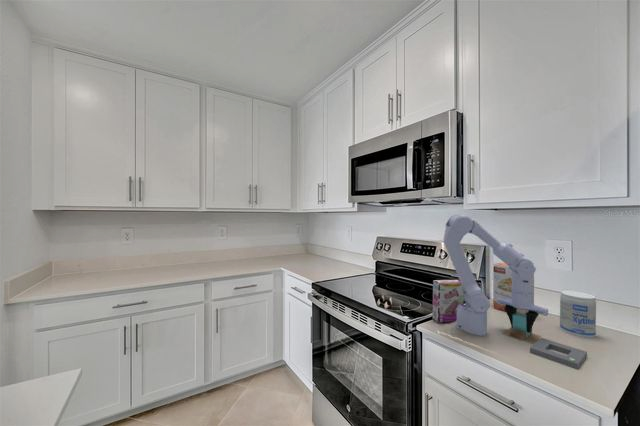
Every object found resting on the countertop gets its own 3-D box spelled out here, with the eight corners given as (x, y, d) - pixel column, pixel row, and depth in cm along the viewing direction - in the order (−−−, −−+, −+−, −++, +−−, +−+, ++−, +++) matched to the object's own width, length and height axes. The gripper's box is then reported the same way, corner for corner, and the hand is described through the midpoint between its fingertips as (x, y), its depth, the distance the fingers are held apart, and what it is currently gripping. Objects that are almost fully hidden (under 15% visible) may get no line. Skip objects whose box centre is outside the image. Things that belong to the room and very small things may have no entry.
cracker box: (492, 308, 124) (492, 263, 124) (500, 306, 127) (500, 262, 126) (526, 319, 111) (526, 269, 111) (534, 317, 114) (534, 268, 114)
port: (529, 355, 83) (529, 346, 83) (541, 345, 90) (541, 336, 90) (578, 372, 75) (578, 362, 75) (587, 359, 81) (587, 350, 81)
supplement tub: (576, 340, 93) (576, 298, 93) (552, 328, 103) (553, 290, 103) (604, 340, 93) (604, 298, 93) (578, 328, 103) (578, 290, 103)
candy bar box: (438, 324, 107) (438, 283, 107) (432, 319, 112) (432, 279, 112) (464, 322, 108) (464, 282, 108) (456, 317, 113) (457, 279, 113)
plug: (512, 334, 96) (512, 314, 96) (516, 331, 98) (516, 312, 98) (526, 338, 93) (526, 318, 93) (530, 335, 95) (530, 315, 95)
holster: (501, 336, 96) (501, 326, 96) (511, 329, 102) (511, 320, 102) (532, 346, 89) (532, 336, 89) (541, 338, 94) (541, 329, 94)
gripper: (551, 294, 92) (550, 333, 92) (502, 285, 103) (502, 319, 104) (544, 298, 88) (544, 339, 88) (495, 288, 99) (494, 324, 99)
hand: (521, 329), depth 95 cm, fingers closed on plug, 4 cm apart
